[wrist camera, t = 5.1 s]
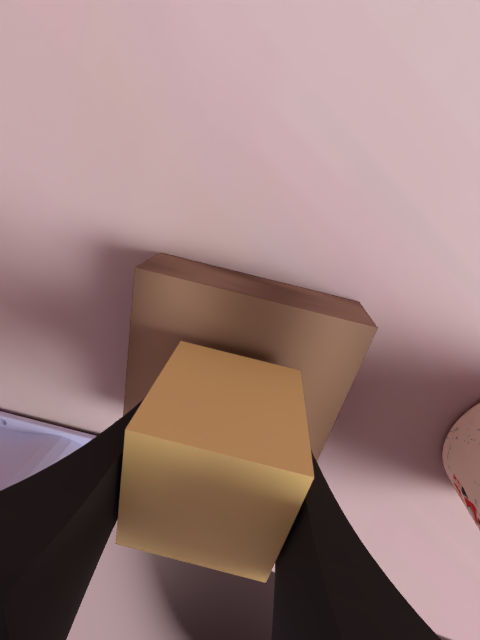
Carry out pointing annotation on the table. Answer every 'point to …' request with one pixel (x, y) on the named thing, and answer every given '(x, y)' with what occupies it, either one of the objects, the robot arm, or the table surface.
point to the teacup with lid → (465, 460)
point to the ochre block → (216, 462)
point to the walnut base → (247, 331)
